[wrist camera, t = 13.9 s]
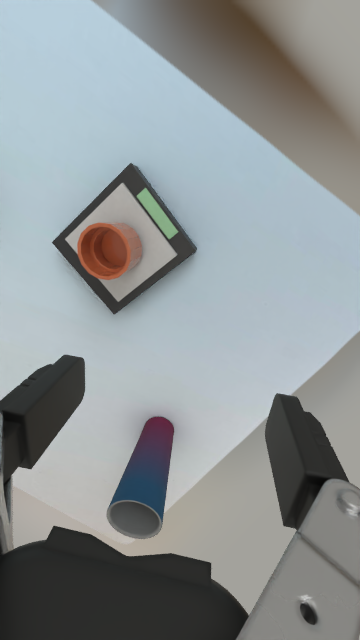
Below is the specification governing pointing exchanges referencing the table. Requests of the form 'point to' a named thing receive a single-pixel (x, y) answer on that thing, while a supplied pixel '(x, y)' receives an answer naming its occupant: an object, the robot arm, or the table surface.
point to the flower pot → (109, 249)
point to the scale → (148, 222)
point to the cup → (144, 483)
